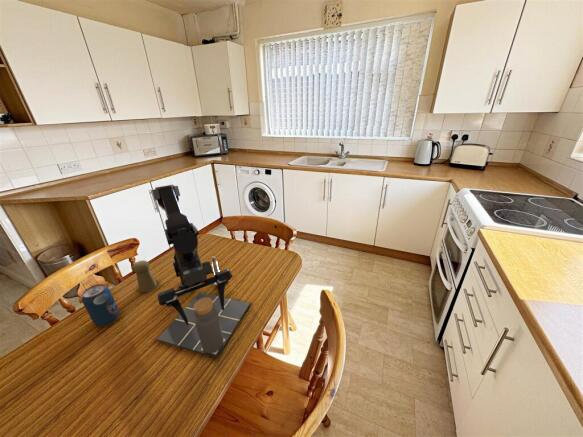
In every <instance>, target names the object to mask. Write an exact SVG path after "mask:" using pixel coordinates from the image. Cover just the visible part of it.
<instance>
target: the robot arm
mask: <svg viewBox="0 0 583 437" xmlns="http://www.w3.org/2000/svg"><path fill="white" fill-rule="evenodd" d="M151 193H152V195H153V199H154V201H155V202H156V201H157V205H158V207H159V208H161V209H162V210H163V211H164V213H165V216H166V219H165V221H164V224H165V229H164V234H165V238H166V241H167V245H168V246H170V245H172V246H173V251H174V254H173V261H172V265H173V268H174V271H175V275H176V278H179V279H180V282H181V283H180V284H179V285H178V287H179V288H178V289H176V290H175V288H174V287H171V288H168V289H166V290H162V291H160V292H159V293H158V294H157V296H156V297H157V300H158V301H157V302H158V305H160V306H161V307H163V306H166V307H167V308H169V307H172V308H173V309H174V310H175V311H176V313H178V314H179V315H180V316H181V317H182V318H183V320H184V321H185V323H186V324H187V326H188V325H189V323H188V320H187V317H186V315H185V313H184V309H183V306H182V304H181V302H180V300H179V297H181V296H184V295H188V294H190V293H193V292H195V291H198V290H200V289H203V288H206V287H208V286H211V285H213V284H214V283H217V284H218V285H217V287H216V290H217V296H218V297H219V300H220V305H221V308H222V310H224V298H225V289H226V285H228V284H229V281H231V280H232V278H233V273H232V271H231V270H230V269H229V268H225V269H222V270H219V272H216V273H215V275H213V276H212V277H209V278H208V275H210V274H214V270H213V266H212V264H211V262H210V260H207V261H204V262H202V261H201V258H200V255H199V252H198V251H199V250H198V249H199V248H198V247H199V240H198V236H199V235H200V233H199V230H198V228H197V227H196V225H194V223H193V222H191V221H190V219H189V216H188V215H185V214H183V213H182V210H181V207H180V204H179V202H180V198H179V197H180V196H181V192H180V189H179V186H178V185H174V184H168V185H162V186H161V185H160V186H156V187H155V188H154V189H151Z"/></svg>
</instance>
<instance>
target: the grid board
mask: <svg viewBox="0 0 583 437" xmlns="http://www.w3.org/2000/svg"><path fill="white" fill-rule="evenodd" d="M204 297H208V298H211V299H212V301H213V304H214V306H215V310H216V311H217V313H218V317H219V321H220V325H221V330H222V334H223V339H224V343H223V345H222V347H221V348H220V349H219V350H218V351H216V352H214V353H206V352H204V350H203V348H202V345H201V342H200V338H199V335H198V331H197V328H196V324H195V315H194V308H193V306H194V303H195V302H196V301H197V300H199V299H201V298H204ZM250 306H251V303H250V302H246V301H240V300H236V299H232V298H227V297H224V310H222V308H221V305H220V300H219V296H218V295H213V294H208V293H204V292H199V293H198V294H197V295H196V296H195V297H194V298H193V299H192V300H191V302H189V304H188V305H187V306H186V307H185V308H184V309H183V311H184V313H185V315H186V317H187V320H188V323H189V325H188V326H187V324H186V323H185V321H184V320H183V318H182V317H181V316H180V314H179V315H178V316H177V317H176V318H175V319H174V320H173V321H172V322H171V323H170V324H169V325H168V327H166V329H165V330H164V331H163V332H162V333H161V334H160V336H158V338H157V339H156V341H157V342H161V343H163V344H167V345H170V346H174V347H177V348H181V349H183V350H187V351H190V352H194V353H197V354H200V355H203V356H207V357H211V358H214V359H218V358H219V356H220V354H221V353H222V351H223V350H224V348H225V347H226V345H227V343H228V342H229V340H230V338H231V337H232V335H233V333H234V332H235V330H236V328H237V327H238V326H239V324H240V322H241V320H242V318H243V317H244V316H245V314H246V312H247V310H248V309H249V307H250Z"/></svg>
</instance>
